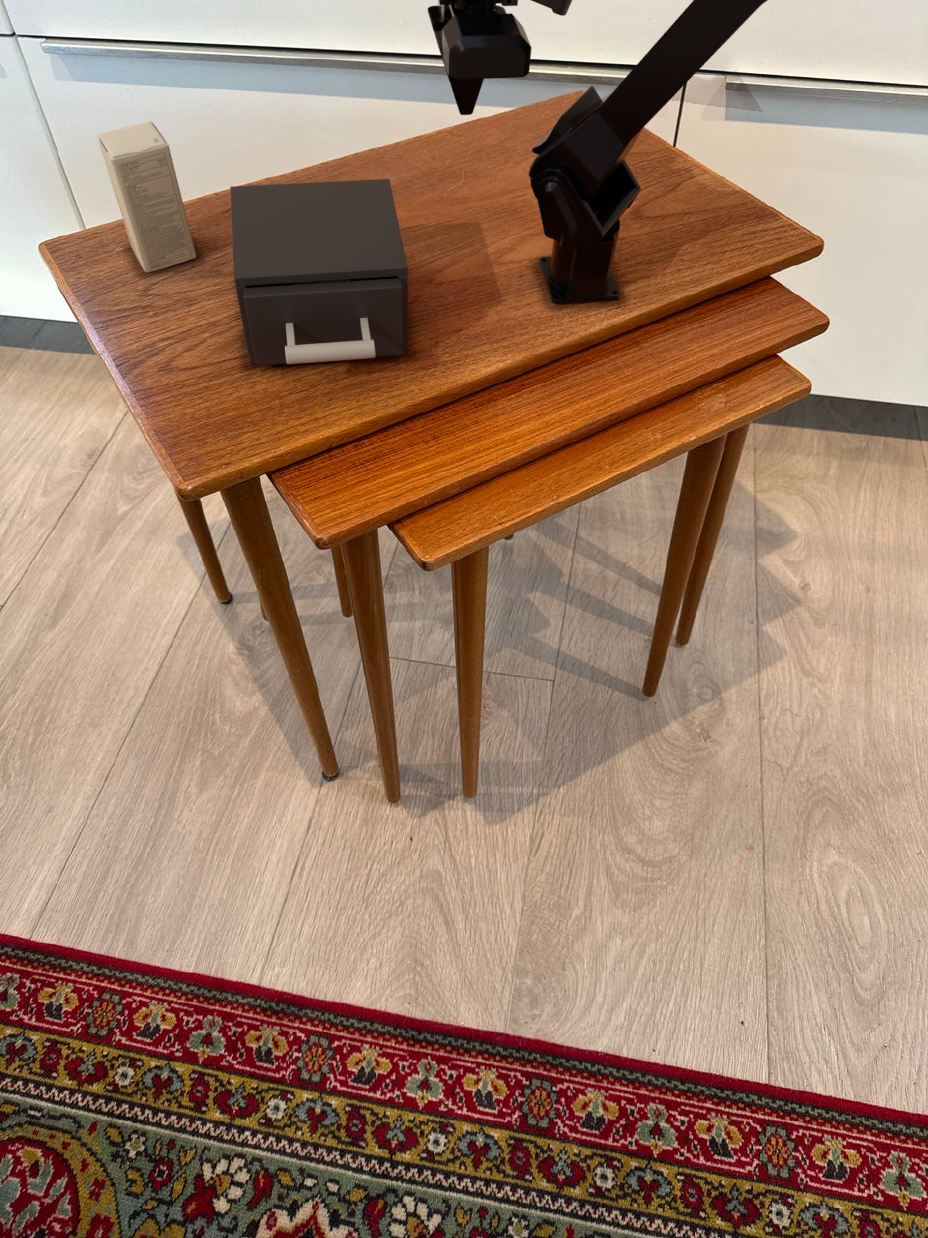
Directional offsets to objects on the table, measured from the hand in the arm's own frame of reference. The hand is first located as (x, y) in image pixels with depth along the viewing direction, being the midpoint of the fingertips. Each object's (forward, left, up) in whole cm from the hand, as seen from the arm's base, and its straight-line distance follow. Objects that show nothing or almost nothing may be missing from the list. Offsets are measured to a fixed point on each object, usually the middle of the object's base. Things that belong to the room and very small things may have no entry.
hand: (465, 112), depth 80 cm
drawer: (-14, +14, -11) cm, 23 cm away
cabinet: (-10, +14, -12) cm, 21 cm away
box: (0, +28, -12) cm, 31 cm away
